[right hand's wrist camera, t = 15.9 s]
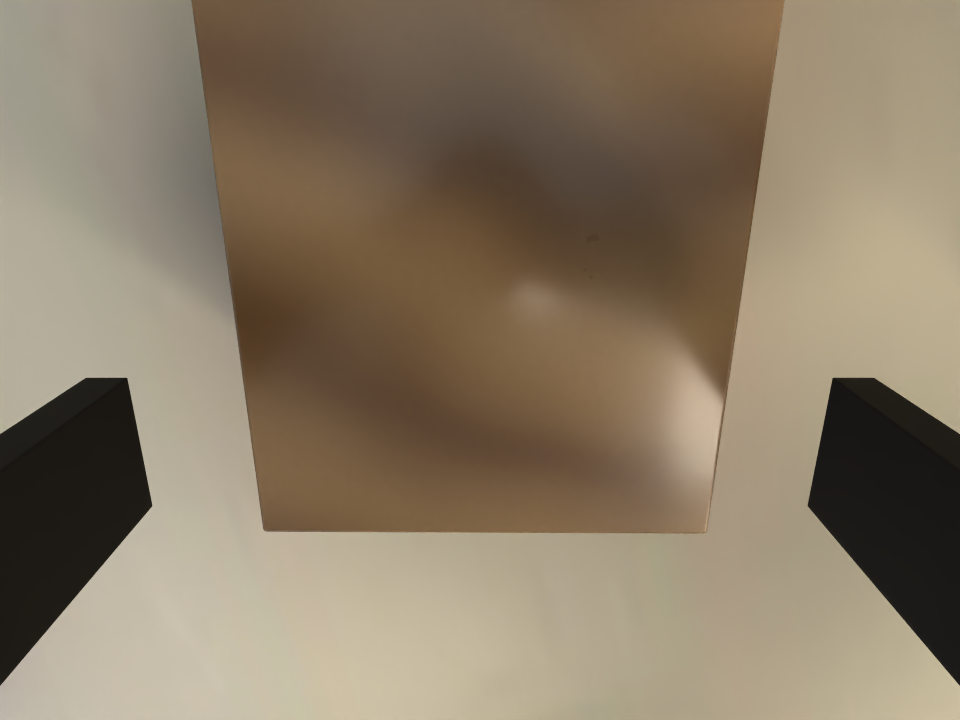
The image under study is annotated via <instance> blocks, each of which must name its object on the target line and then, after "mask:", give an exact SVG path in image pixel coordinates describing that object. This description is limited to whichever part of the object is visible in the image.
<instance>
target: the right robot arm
mask: <svg viewBox="0 0 960 720" xmlns="http://www.w3.org/2000/svg"><path fill="white" fill-rule="evenodd" d="M151 507H152V502H151V496H150V491H149V486H148V481H147V476H146V471H145V466H144V461H143V456H142V451H141V446H140V441H139V435H138V430H137V425H136V420H135V415H134V410H133V405H132V400H131V395H130V390H129V385H128V379H127V378H85V379H84V380H82V381H81V382H79V383H77V384H76V385H74V386H73V387H71V388H70V389H68V390H67V391H65V392H64V393H62V394H61V395H59V396H58V397H56V398H55V399H53V400H52V401H50V402H49V403H47V404H46V405H44V406H42V407H41V408H39V409H38V410H36V411H35V412H33V413H32V414H30V415H29V416H27V417H26V418H24V419H23V420H21V421H20V422H18V423H17V424H15V425H14V426H12V427H11V428H9V429H7V430H6V431H4V432H3V433H1V434H0V685H1V684H2V683H3V682H4V681H5V679H6V678H7V677H8V676H9V675H10V673H11V672H12V671H13V670H14V669H15V668H16V666H17V665H18V664H19V663H20V662H21V660H22V659H23V658H24V657H25V656H26V655H27V653H28V652H29V651H30V650H31V649H32V647H33V646H34V645H35V644H36V643H37V642H38V640H39V639H40V638H41V637H42V636H43V634H44V633H45V632H46V631H47V630H48V629H49V627H50V626H51V625H52V624H53V623H54V622H55V620H56V619H57V618H58V617H59V616H60V614H61V613H62V612H63V611H64V610H65V609H66V607H67V606H68V605H69V604H70V603H71V601H72V600H73V599H74V598H75V597H76V596H77V594H78V593H79V592H80V591H81V590H82V588H83V587H84V586H85V585H86V584H87V583H88V581H89V580H90V579H91V578H92V577H93V575H94V574H95V573H96V572H97V571H98V570H99V568H100V567H101V566H102V565H103V564H104V562H105V561H106V560H107V559H108V558H109V557H110V555H111V554H112V553H113V552H114V551H115V549H116V548H117V547H118V546H119V545H120V544H121V542H122V541H123V540H124V539H125V538H126V536H127V535H128V534H129V533H130V532H131V531H132V529H133V528H134V527H135V526H136V525H137V523H138V522H139V521H140V520H141V519H142V518H143V516H144V515H145V514H146V513H147V512H148V511H149V509H150V508H151ZM808 507H809V508H810V509H811V511H812V512H813V513H814V514H815V515H816V516H817V518H818V519H819V520H820V521H821V522H822V523H823V525H824V526H825V527H826V528H827V529H828V531H829V532H830V533H831V534H832V535H833V536H834V538H835V539H836V540H837V541H838V542H839V544H840V545H841V546H842V547H843V548H844V549H845V551H846V552H847V553H848V554H849V555H850V557H851V558H852V559H853V560H854V561H855V562H856V564H857V565H858V566H859V567H860V568H861V570H862V571H863V572H864V573H865V574H866V575H867V577H868V578H869V579H870V580H871V581H872V583H873V584H874V585H875V586H876V587H877V588H878V590H879V591H880V592H881V593H882V594H883V596H884V597H885V598H886V599H887V600H888V601H889V603H890V604H891V605H892V606H893V607H894V609H895V610H896V611H897V612H898V613H899V614H900V616H901V617H902V618H903V619H904V620H905V622H906V623H907V624H908V625H909V626H910V627H911V629H912V630H913V631H914V632H915V633H916V635H917V636H918V637H919V638H920V639H921V640H922V642H923V643H924V644H925V645H926V646H927V647H928V649H929V650H930V651H931V652H932V653H933V655H934V656H935V657H936V658H937V659H938V660H939V662H940V663H941V664H942V665H943V666H944V668H945V669H946V670H947V671H948V672H949V673H950V675H951V676H952V677H953V678H954V679H955V681H956V682H957V683H958V684H959V685H960V434H959V433H957V432H956V431H954V430H953V429H951V428H949V427H948V426H946V425H945V424H943V423H942V422H940V421H939V420H937V419H936V418H934V417H933V416H931V415H930V414H928V413H927V412H925V411H924V410H922V409H921V408H919V407H918V406H916V405H914V404H913V403H911V402H910V401H908V400H907V399H905V398H904V397H902V396H901V395H899V394H898V393H896V392H895V391H893V390H892V389H890V388H889V387H887V386H886V385H884V384H883V383H881V382H879V381H878V380H876V379H875V378H833V379H832V385H831V390H830V395H829V400H828V405H827V410H826V415H825V420H824V425H823V430H822V435H821V441H820V446H819V451H818V456H817V461H816V466H815V471H814V476H813V481H812V486H811V491H810V496H809V502H808Z"/></svg>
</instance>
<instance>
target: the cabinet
mask: <svg viewBox="0 0 960 720" xmlns="http://www.w3.org/2000/svg"><path fill="white" fill-rule="evenodd" d="M191 1H192V8H193V15H194V23H195V30H196V37H197V45H198V52H199V59H200V67H201V74H202V82H203V89H204V96H205V104H206V111H207V118H208V126H209V133H210V140H211V148H212V155H213V162H214V170H215V177H216V184H217V192H218V199H219V206H220V214H221V221H222V229H223V236H224V243H225V251H226V258H227V265H228V273H229V280H230V287H231V295H232V302H233V309H234V317H235V324H236V331H237V339H238V346H239V353H240V361H241V368H242V376H243V383H244V390H245V398H246V405H247V412H248V420H249V427H250V434H251V442H252V449H253V456H254V464H255V471H256V478H257V486H258V493H259V500H260V508H261V515H262V523H263V529H264V531H268V532H498V533H706V531H707V526H708V519H709V512H710V505H711V499H712V492H713V485H714V478H715V471H716V464H717V458H718V451H719V444H720V437H721V430H722V423H723V416H724V410H725V403H726V396H727V389H728V382H729V375H730V369H731V362H732V355H733V348H734V341H735V334H736V328H737V321H738V314H739V307H740V300H741V293H742V287H743V280H744V273H745V266H746V259H747V252H748V245H749V239H750V232H751V225H752V218H753V211H754V204H755V198H756V191H757V184H758V177H759V170H760V163H761V157H762V150H763V143H764V136H765V129H766V122H767V116H768V109H769V102H770V95H771V88H772V81H773V74H774V68H775V61H776V54H777V47H778V40H779V33H780V27H781V20H782V13H783V6H784V0H191Z"/></svg>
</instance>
